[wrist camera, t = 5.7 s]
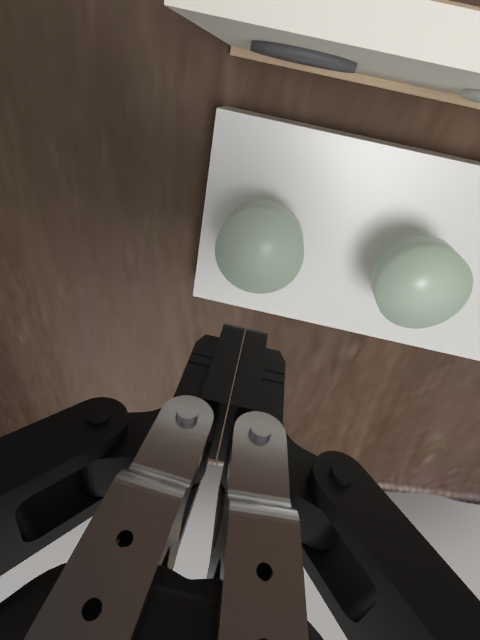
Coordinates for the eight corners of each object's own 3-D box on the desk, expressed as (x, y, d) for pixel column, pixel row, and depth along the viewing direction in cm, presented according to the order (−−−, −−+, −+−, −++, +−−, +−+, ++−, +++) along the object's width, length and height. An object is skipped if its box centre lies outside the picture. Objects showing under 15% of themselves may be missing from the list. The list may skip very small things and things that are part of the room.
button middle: (357, 301, 23) (362, 318, 21) (389, 226, 20) (397, 239, 18) (434, 318, 22) (445, 336, 21) (475, 245, 20) (492, 260, 18)
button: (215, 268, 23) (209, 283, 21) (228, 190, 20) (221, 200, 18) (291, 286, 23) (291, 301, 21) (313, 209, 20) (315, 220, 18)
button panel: (201, 277, 29) (192, 295, 27) (225, 105, 22) (216, 107, 20) (524, 350, 29) (546, 376, 26) (644, 197, 22) (689, 211, 20)
